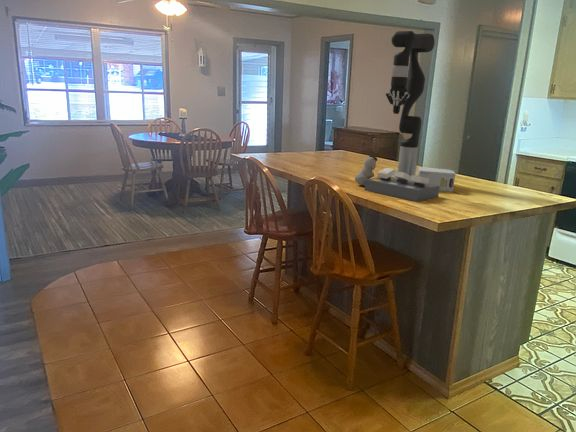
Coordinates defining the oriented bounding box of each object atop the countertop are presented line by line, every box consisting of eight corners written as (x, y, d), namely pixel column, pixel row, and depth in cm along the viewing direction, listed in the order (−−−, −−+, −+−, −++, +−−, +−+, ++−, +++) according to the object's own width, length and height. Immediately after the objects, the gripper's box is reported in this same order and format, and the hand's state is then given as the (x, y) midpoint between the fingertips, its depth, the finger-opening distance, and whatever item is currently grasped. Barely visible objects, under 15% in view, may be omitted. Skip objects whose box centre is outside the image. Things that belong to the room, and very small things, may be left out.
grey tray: (387, 185, 227) (388, 173, 226) (438, 196, 208) (440, 182, 206) (364, 190, 215) (365, 176, 214) (416, 201, 196) (418, 187, 194)
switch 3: (418, 181, 207) (419, 176, 207) (428, 183, 204) (429, 178, 204) (410, 180, 203) (411, 174, 202) (420, 182, 199) (421, 176, 199)
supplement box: (417, 189, 223) (419, 170, 220) (415, 184, 235) (417, 166, 233) (453, 192, 220) (456, 173, 217) (450, 187, 232) (452, 168, 230)
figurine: (374, 187, 221) (377, 157, 217) (353, 186, 223) (356, 155, 219) (375, 184, 229) (377, 154, 225) (354, 183, 231) (357, 153, 227)
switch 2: (401, 179, 214) (402, 174, 214) (410, 181, 210) (411, 176, 210) (393, 175, 209) (394, 170, 209) (402, 177, 205) (404, 172, 205)
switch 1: (386, 172, 220) (386, 167, 219) (395, 174, 217) (395, 169, 215) (377, 177, 216) (377, 172, 215) (386, 178, 212) (386, 173, 211)
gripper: (416, 76, 214) (412, 114, 219) (392, 76, 223) (389, 112, 228) (407, 75, 209) (403, 114, 214) (383, 75, 218) (380, 112, 223)
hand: (396, 113), depth 221 cm, fingers closed
